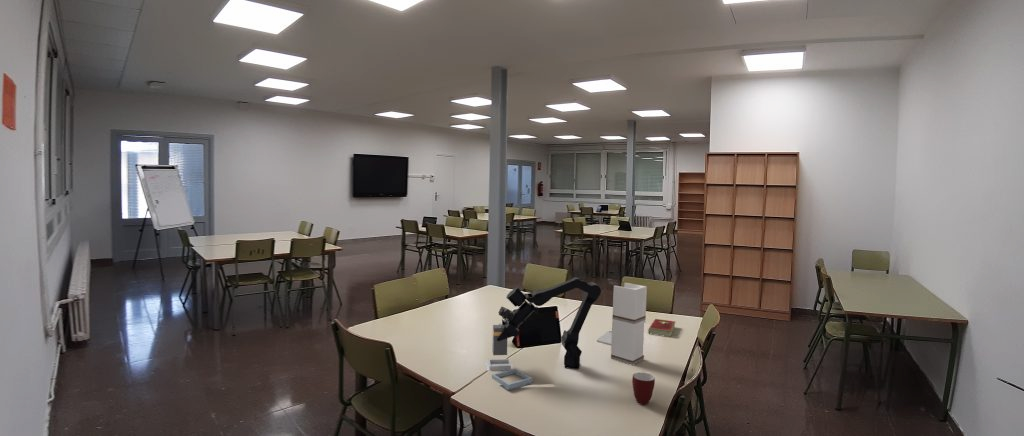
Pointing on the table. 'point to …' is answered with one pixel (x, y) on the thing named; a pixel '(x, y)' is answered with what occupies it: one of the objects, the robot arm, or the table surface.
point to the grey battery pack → (499, 346)
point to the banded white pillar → (628, 323)
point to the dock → (498, 364)
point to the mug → (643, 387)
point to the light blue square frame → (515, 384)
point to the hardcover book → (662, 327)
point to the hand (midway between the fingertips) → (496, 338)
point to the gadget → (606, 338)
